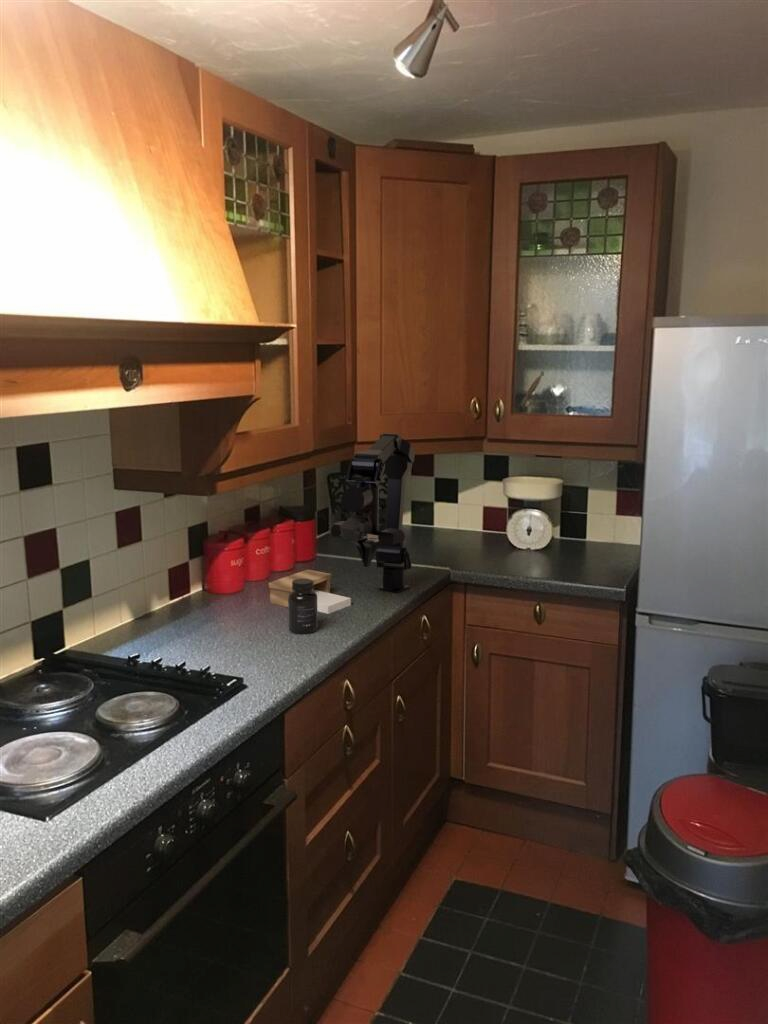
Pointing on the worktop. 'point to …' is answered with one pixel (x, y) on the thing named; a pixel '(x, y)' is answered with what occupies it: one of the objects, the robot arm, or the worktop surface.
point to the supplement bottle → (302, 607)
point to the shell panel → (330, 602)
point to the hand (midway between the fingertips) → (366, 566)
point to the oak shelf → (284, 585)
